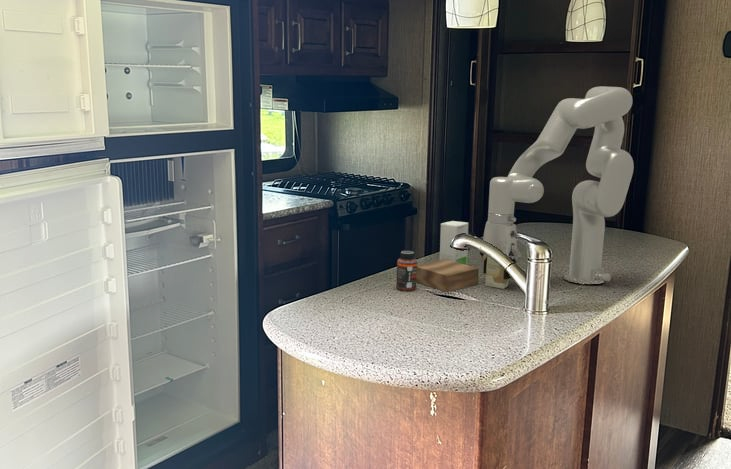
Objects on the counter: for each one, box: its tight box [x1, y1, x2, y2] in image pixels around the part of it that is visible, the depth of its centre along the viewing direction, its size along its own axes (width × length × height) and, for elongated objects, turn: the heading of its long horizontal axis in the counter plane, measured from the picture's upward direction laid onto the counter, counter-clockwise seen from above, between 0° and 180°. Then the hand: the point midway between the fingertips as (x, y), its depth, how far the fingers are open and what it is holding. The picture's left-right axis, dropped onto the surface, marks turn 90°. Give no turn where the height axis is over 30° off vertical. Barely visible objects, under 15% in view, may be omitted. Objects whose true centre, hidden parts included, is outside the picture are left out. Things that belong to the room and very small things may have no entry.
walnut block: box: [416, 259, 479, 293], centre depth 221 cm, size 14×14×5 cm
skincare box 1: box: [439, 220, 469, 265], centre depth 237 cm, size 8×7×16 cm
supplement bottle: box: [395, 250, 418, 292], centre depth 214 cm, size 6×6×11 cm
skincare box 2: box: [484, 256, 510, 290], centre depth 218 cm, size 6×4×12 cm
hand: (497, 275), depth 219 cm, fingers closed on skincare box 2, 7 cm apart
